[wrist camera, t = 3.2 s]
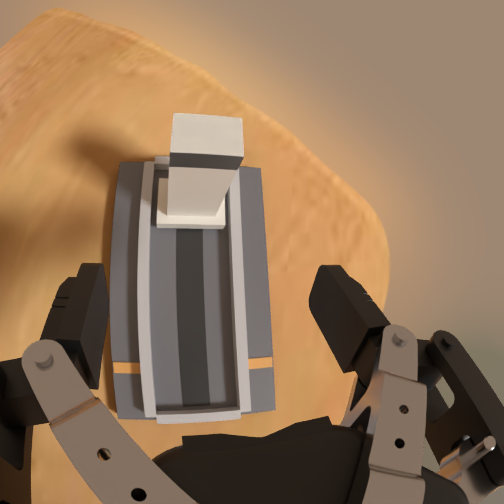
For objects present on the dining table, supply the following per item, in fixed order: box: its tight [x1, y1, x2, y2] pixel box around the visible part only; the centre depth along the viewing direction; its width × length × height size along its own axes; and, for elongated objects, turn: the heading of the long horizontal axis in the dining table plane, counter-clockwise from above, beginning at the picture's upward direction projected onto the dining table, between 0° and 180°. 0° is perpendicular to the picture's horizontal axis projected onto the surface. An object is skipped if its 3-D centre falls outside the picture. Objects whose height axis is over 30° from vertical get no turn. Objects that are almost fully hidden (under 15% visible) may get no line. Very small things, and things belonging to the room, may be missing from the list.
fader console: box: [110, 156, 276, 424], centre depth 22 cm, size 12×20×2 cm, turn 3°
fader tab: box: [157, 113, 244, 229], centre depth 18 cm, size 5×4×10 cm
